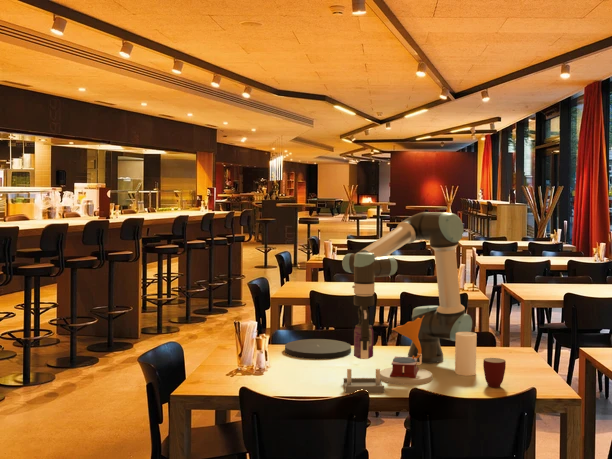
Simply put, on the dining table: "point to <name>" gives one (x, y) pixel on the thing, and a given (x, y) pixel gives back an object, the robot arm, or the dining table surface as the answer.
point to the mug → (494, 371)
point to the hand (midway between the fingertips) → (363, 356)
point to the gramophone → (407, 360)
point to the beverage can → (358, 343)
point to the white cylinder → (465, 353)
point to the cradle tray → (363, 383)
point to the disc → (317, 349)
